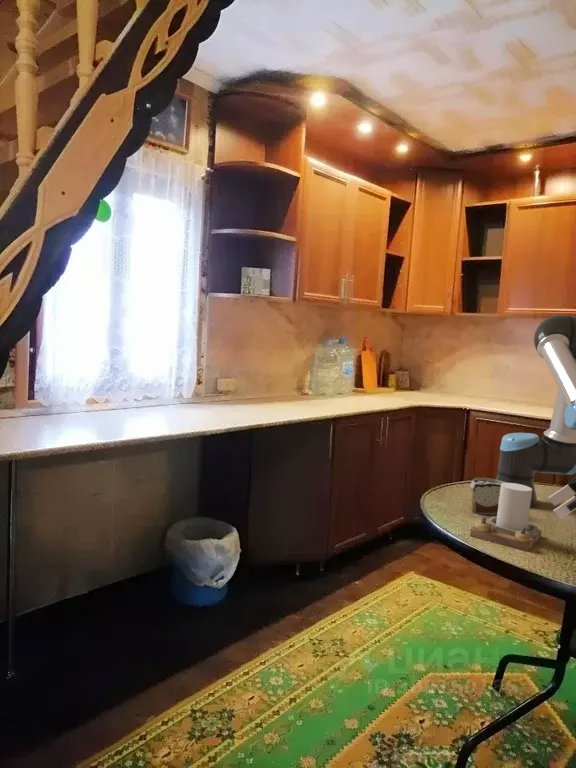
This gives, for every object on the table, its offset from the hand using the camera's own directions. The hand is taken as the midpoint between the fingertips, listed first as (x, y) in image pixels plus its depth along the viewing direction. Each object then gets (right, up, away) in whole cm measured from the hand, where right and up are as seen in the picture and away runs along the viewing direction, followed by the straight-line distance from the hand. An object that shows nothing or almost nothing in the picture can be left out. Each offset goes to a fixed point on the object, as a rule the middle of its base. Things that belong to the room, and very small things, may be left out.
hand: (553, 508), depth 159 cm
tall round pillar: (-10, -7, +4) cm, 13 cm away
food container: (-11, -7, +27) cm, 29 cm away
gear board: (-12, -9, +3) cm, 15 cm away
